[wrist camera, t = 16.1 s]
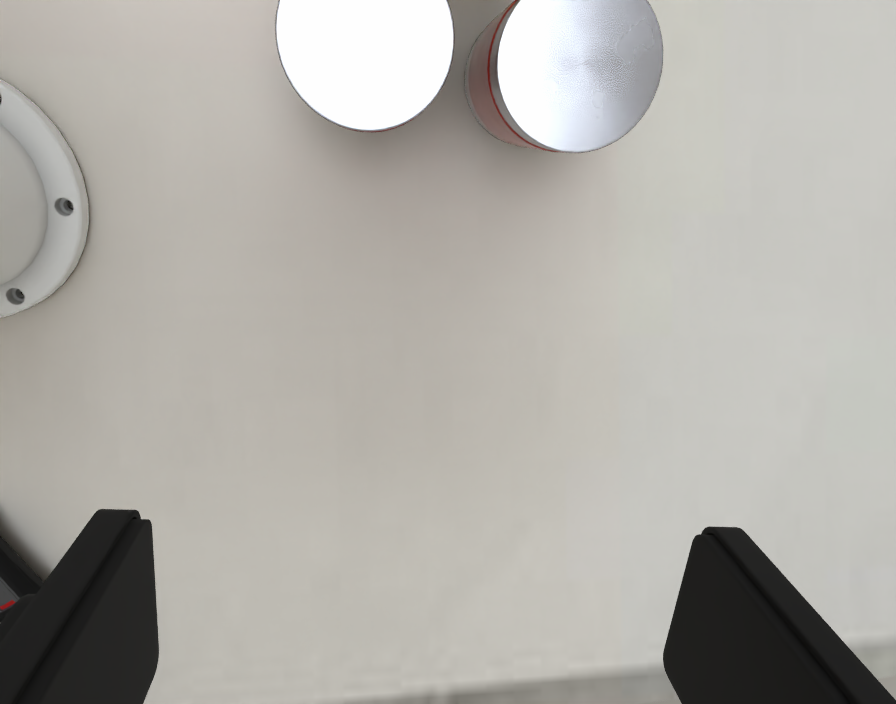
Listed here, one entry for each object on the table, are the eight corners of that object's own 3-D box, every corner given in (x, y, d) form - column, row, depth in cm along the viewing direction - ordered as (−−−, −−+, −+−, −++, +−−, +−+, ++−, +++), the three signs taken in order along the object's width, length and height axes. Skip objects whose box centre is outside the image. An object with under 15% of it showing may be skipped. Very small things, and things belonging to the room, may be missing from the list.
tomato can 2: (457, 139, 34) (485, 145, 25) (470, 1, 32) (507, -48, 23) (576, 152, 35) (646, 162, 26) (598, 18, 33) (681, -23, 24)
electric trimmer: (102, 685, 43) (82, 727, 40) (-71, 519, 38) (-108, 554, 35) (149, 660, 43) (133, 701, 40) (-18, 490, 38) (-51, 522, 35)
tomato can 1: (301, 123, 33) (272, 123, 24) (305, -21, 31) (274, -81, 22) (428, 136, 34) (446, 141, 25) (440, -3, 31) (465, -54, 22)
